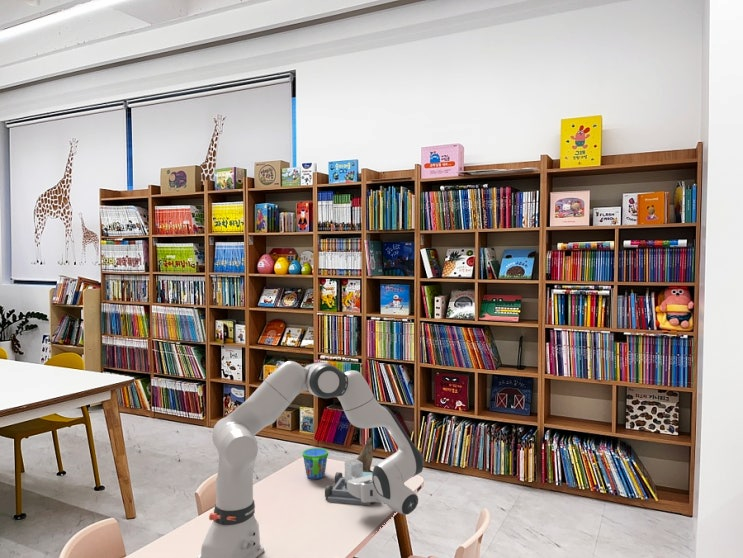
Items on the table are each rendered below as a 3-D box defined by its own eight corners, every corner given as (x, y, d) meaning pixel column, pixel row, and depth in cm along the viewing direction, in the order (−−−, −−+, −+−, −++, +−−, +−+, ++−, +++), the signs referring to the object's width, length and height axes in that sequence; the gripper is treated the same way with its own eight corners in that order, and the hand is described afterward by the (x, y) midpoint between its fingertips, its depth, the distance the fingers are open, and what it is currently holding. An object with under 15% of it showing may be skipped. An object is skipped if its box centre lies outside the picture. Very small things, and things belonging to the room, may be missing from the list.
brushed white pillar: (362, 491, 208) (362, 462, 208) (351, 494, 206) (351, 465, 205) (356, 486, 212) (355, 458, 212) (344, 489, 210) (344, 461, 209)
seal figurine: (375, 481, 228) (383, 441, 225) (367, 485, 224) (374, 444, 221) (354, 469, 235) (361, 429, 232) (345, 472, 231) (352, 432, 228)
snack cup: (304, 469, 235) (304, 445, 235) (329, 469, 235) (329, 445, 235) (300, 483, 219) (300, 458, 219) (326, 483, 219) (326, 458, 219)
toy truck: (373, 505, 199) (373, 493, 199) (323, 501, 203) (323, 489, 203) (384, 484, 219) (384, 473, 219) (338, 480, 223) (338, 469, 223)
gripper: (407, 472, 197) (386, 461, 209) (359, 485, 186) (339, 472, 198) (407, 490, 197) (386, 477, 209) (359, 503, 186) (339, 489, 198)
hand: (363, 475), depth 203 cm, fingers open, 8 cm apart
